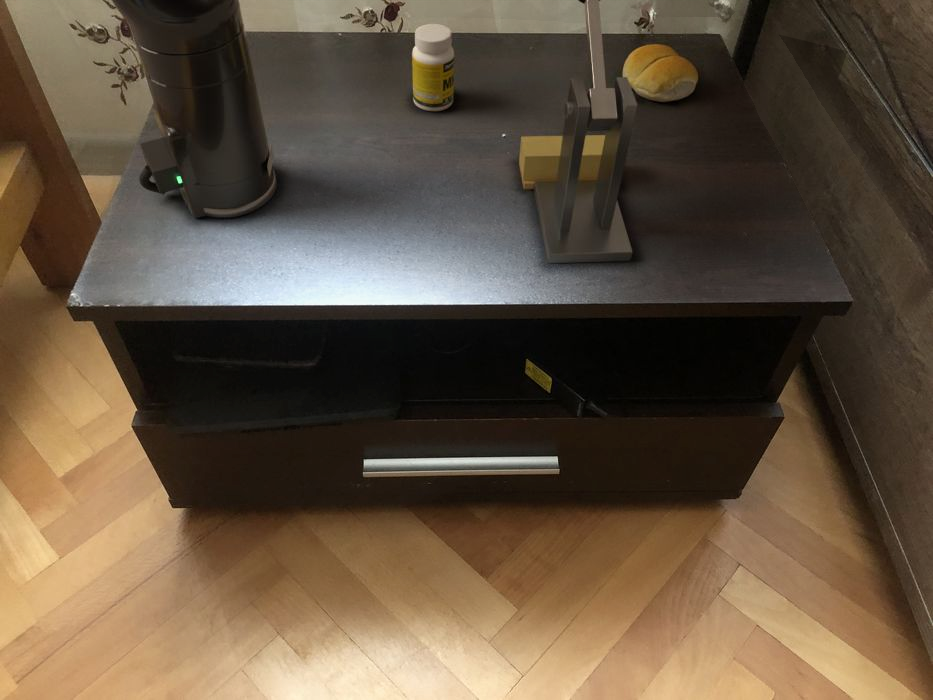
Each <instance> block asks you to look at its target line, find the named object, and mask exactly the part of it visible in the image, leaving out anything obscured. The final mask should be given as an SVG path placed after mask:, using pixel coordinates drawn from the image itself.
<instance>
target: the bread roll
mask: <svg viewBox="0 0 933 700" xmlns="http://www.w3.org/2000/svg"><path fill="white" fill-rule="evenodd" d="M622 77H627V78H628V81H629V83H630V86H631V89H632V90H633V91H634V92H635V93H636V94H637V95H638V96H640V97H641V98H644V99H647V100H649V101H655V102H660V103H666V102H673V101H679V100H682V99H685V98H688V97H689V96H690V95H691V94H692V93H693V92H694V91H695V88H696V85H697V84H698V80H699V73H698V71H697V68H696V67H695V66H694V64H692V63H691V62H690V61H689V60H688V59H686V58H685V57H682V56H680V55H679V54H678V53H677V51H675V49H674V48H672V47H671V46H668V45H665V44H659V43H653V44H652V43H651V44H646V45H643V46H640V47H637V48H636V49H634V50H633V51H632V52H631V53H630V54H629V55H628V56H627V58H626V59H625V62H624V64H623V69H622Z"/></svg>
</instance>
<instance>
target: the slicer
mask: <svg viewBox="0 0 933 700" xmlns="http://www.w3.org/2000/svg"><path fill="white" fill-rule="evenodd" d="M613 88H615V97H616V109H617V119H616V121H615V123H614V125H613V127H612V129H611V130H610V131H605V134H604V135H605V139H604V145H603V150H602V155H601V161H600V166H599V171H598V177H597V180H578V178H579V172H580V166H581V160H582V154H583V148H584V142H585V136H586V135H587V131H586V130H587V124H588V118H589V112H590V103H589V100H588V97H587V94H588V92H587V90H586V87H585V84H584V81H583V78H582V77H571V78H570V80H569V88H568V95H567V101H565V104H564V122H563V123H564V125H563V131H562V136H563V138H562V145H561V152H560V159H559V166H558V173H557V180H556V181H535V182H534V189H533V194H534V200H535V205H536V209H537V215H538V220H539V225H540V231H541V236H542V241H543V247H544V251H545V255H546V261H547V264H567V263H568V264H569V263H571V264H573V263H600V262H601V263H602V262H603V263H604V262H605V263H606V262H630V261H631V259H632V256H633V248H632V246H631V242H630V239H629V236H628V231H627V229H626V225H625V221H624V219H623V214H622V211H621V208H620V206H619V201H618V197H619V193H620V188H621V184H622V179H623V175H624V169H625V165H626V161H627V155H628V151H629V147H630V142H631V137H632V132H633V128H634V124H635V119H636V114H637V111H638V103H637V100H636V97H635V94H634V92H633V89H631V86H630V83H629V81H628V78H627V77H623V76H618V77H615V81H614V87H613Z"/></svg>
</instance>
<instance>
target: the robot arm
mask: <svg viewBox="0 0 933 700" xmlns="http://www.w3.org/2000/svg"><path fill="white" fill-rule="evenodd" d="M111 2H112V4H113V5H114V7H115V8H116V9H117V10H118V12H119V13H120V15H122V17H123V18H124V19H125V21H126V22H127V25H128V27H129V30H130V33H131V36H132V39H133V42H134V45H135V48H136V52H137V54H138V58H139V60H140V64H141V68H142V70H143V73H144V76H145V79H146V83H147V86H148V89H149V92H150V95H151V98H152V101H153V103H152V110H153V114H154V116H155V119H156V123H157V125H158V129H159V132H160V136H161V137H160V138H156V139H152V140H148V141H145V142H141V143H139V147H140V149H141V152H142V155H143V158H144V161H145V164H146V165H145V166H144V168H143V170H141V172H140V174H139V176H138V180H139V184H140V185H141V187H142V188H144V189H145V190H148V191H149V192H154V193H157V194H161V195H166V193H169V192H172V191H176V190H178V189H179V191H180V193H181V197H182V199H183V201H184V203H185V205H186V206H187V207H188V209H189V212H190V214H191V215H192V217H193V218H194V219H199V218H202V217H209V218H218V219H219V218H220V219H221V218H223V219H224V218H225V219H226V218H233V217H234V218H235V217H239V216H243V215H247V214H249V213H252V212H254V211H256V210H259V209H260V208H261V207H263V206H264V205H265V204H267V203H268V202H269V201H270V200H271V199H272V197H273V196H274V194H275V192H276V190H277V186H278V185H277V183H278V182H277V178H276V177H277V176H276V173H275V172H276V171H275V169H274V164H273V163H274V159H275V155H274V151H273V150H274V149H273V146H271V147H270V146H269V142H268V137H267V133H266V128H265V123H264V118H263V113H262V107H261V102H260V98H259V94H258V88H257V83H256V79H255V73H254V69H253V64H252V58H251V54H250V49H249V48H250V47H249V45H248V44H249V43H248V38H247V33H246V28H245V24H244V19H243V14H242V8H241V4H240V0H111ZM269 147H270V148H269ZM151 177H152V179H153V181H154V182H153V181H151V180H150V179H151Z"/></svg>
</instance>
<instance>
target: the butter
mask: <svg viewBox="0 0 933 700" xmlns="http://www.w3.org/2000/svg"><path fill="white" fill-rule="evenodd" d="M562 138H563V135H535V136H534V135H531V136H526V135H525V136H521V138H520V148H519V159H518V165H519V171H520V177H521V182H522V186H523V187H522V188H523V190H534V182H535V181H556V180H557V173H558V166H559V159H560V152H561V145H562ZM604 139H605V134H592V135H591V134H590V135H589V134H588V135H587V134H586V136H585V142H584V148H583V154H582V160H581V166H580V172H579V178H578V180H597V177H598V171H599V166H600V161H601V155H602V150H603V145H604Z"/></svg>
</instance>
